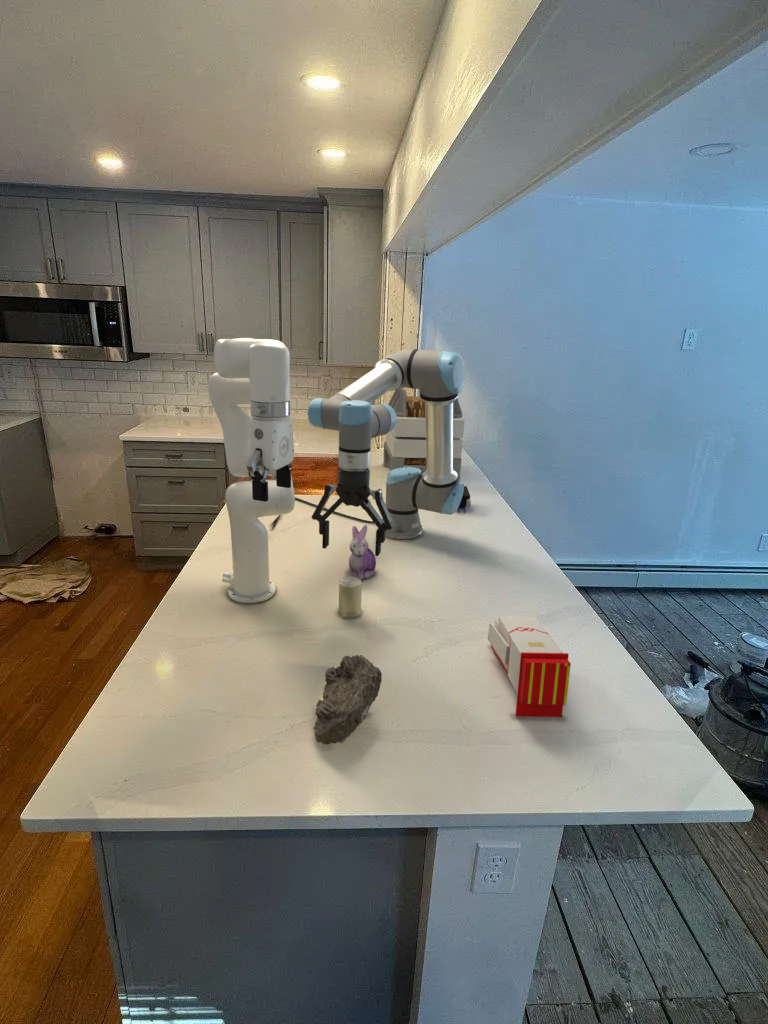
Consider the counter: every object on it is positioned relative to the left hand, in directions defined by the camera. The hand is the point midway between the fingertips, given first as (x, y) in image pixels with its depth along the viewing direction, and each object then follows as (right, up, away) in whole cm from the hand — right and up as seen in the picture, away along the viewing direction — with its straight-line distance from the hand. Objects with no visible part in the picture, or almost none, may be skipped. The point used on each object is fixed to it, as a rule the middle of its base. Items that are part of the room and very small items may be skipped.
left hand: (272, 493), depth 116 cm
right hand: (+15, -13, +25) cm, 32 cm away
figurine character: (+54, -2, +114) cm, 126 cm away
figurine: (+16, -22, +53) cm, 60 cm away
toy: (+53, -40, +9) cm, 67 cm away
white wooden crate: (+40, +15, +159) cm, 165 cm away
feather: (-16, -6, +95) cm, 96 cm away
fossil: (+16, -43, -4) cm, 46 cm away
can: (+14, -30, +31) cm, 46 cm away
